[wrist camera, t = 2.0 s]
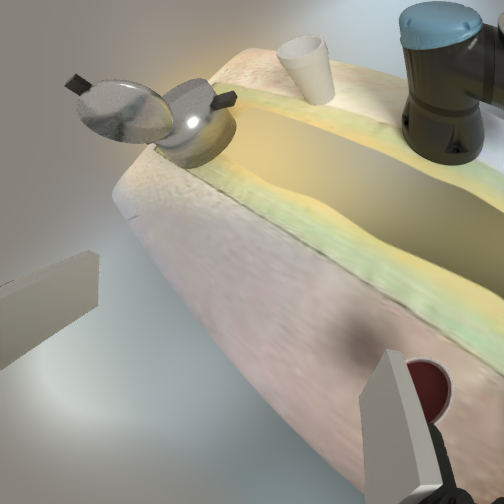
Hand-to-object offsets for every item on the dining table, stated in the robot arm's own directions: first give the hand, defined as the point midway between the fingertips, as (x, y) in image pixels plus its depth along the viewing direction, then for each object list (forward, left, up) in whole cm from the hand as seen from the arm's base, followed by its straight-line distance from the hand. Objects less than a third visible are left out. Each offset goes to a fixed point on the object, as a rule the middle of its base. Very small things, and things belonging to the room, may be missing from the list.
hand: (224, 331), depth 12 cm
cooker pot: (-11, -53, -27) cm, 61 cm away
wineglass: (-4, +9, -27) cm, 29 cm away
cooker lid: (-3, -46, -5) cm, 46 cm away
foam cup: (-34, -37, -27) cm, 57 cm away
